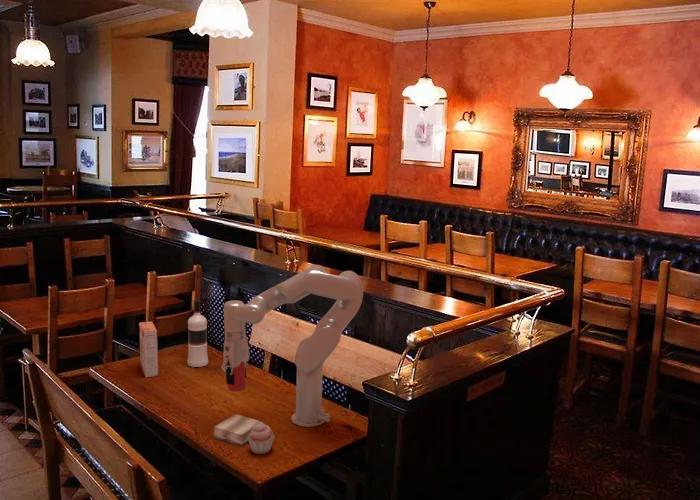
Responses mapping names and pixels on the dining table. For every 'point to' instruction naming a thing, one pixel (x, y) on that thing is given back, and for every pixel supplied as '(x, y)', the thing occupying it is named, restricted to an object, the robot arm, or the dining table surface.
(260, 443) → the cupcake
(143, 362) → the cracker box
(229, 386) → the beer can
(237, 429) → the stand
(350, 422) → the dining table surface
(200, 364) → the vodka
